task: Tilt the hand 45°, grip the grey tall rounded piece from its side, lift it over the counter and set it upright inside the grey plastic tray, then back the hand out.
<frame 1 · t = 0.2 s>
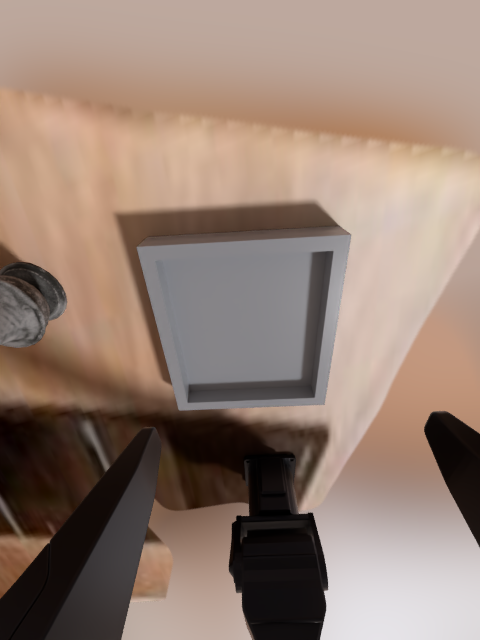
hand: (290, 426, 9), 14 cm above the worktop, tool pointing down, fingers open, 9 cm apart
grey tray: (247, 323, 24), on the worktop
grey tall rounded piece: (34, 291, 23), on the worktop
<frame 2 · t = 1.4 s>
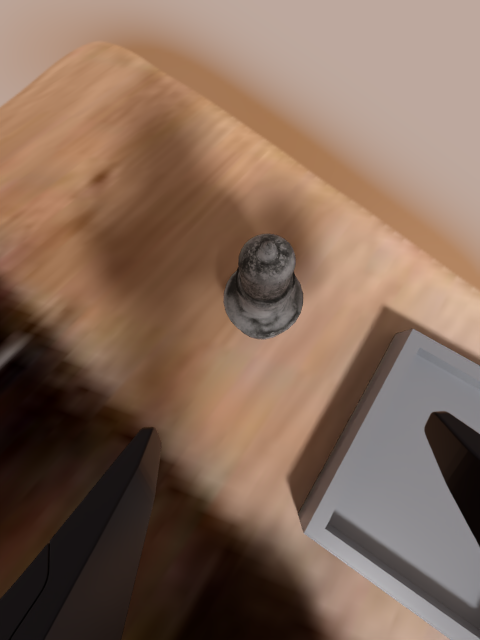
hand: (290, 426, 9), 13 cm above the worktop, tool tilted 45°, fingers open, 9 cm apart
grey tray: (434, 472, 20), on the worktop
grey tall rounded piece: (261, 309, 24), on the worktop
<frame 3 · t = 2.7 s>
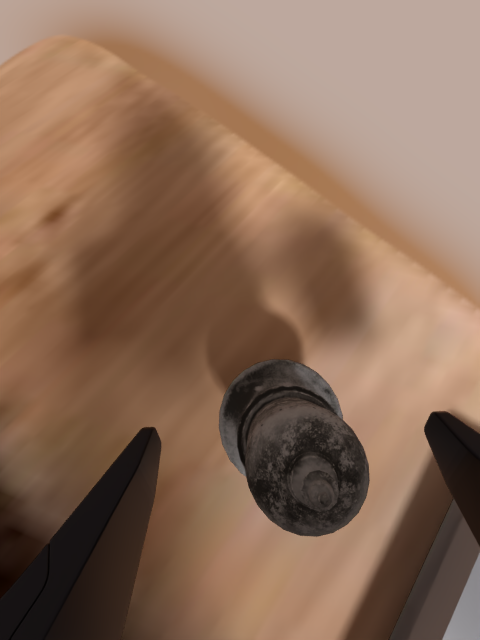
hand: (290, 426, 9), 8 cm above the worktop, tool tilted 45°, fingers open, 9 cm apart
grey tall rounded piece: (274, 411, 17), on the worktop
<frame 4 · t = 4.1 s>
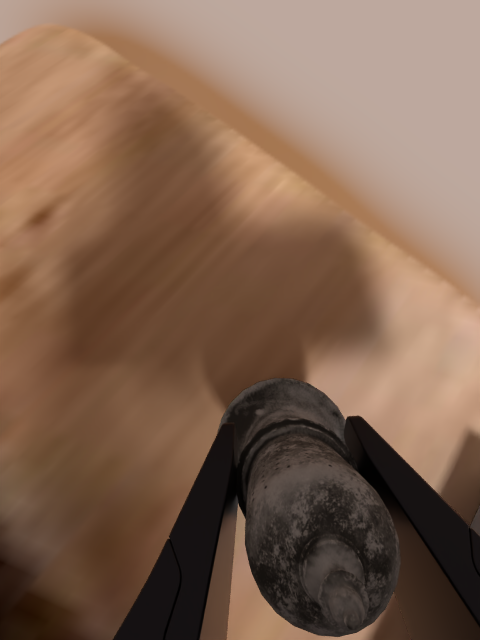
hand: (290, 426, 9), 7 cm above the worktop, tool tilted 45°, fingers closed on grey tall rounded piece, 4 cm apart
grey tall rounded piece: (276, 430, 15), on the worktop, touching gripper
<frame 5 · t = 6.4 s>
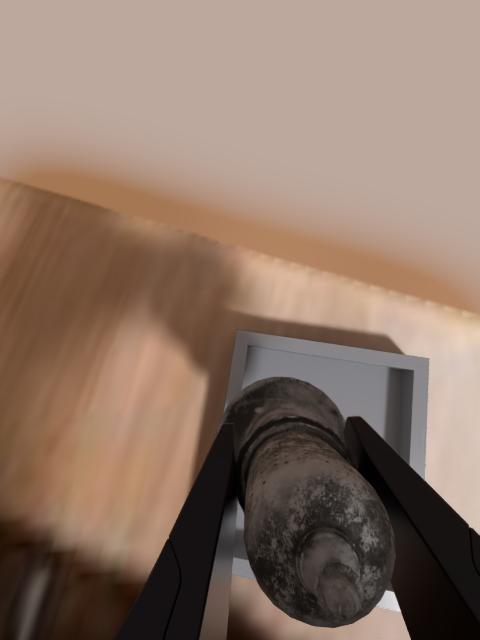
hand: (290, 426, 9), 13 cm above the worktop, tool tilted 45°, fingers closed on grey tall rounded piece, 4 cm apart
grey tray: (311, 448, 21), on the worktop
grey tall rounded piece: (276, 428, 15), point 6 cm above the worktop, touching gripper
when the fingers open (9 cm above the worktop, at t = 8.5 s): grey tall rounded piece drops 1 cm, resting on grey tray.
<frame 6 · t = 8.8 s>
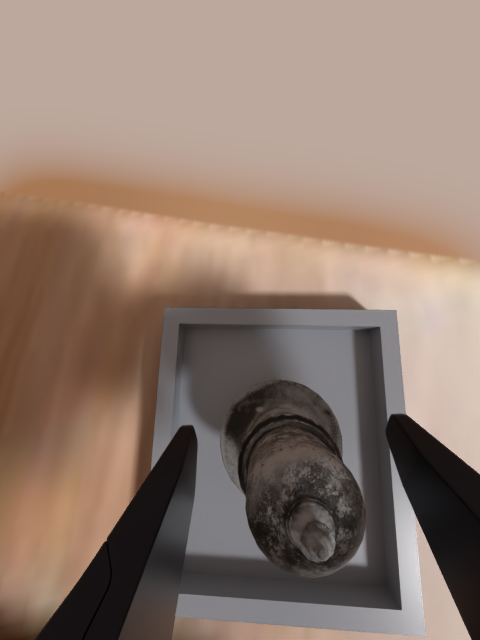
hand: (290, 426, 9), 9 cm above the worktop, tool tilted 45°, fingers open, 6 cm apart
grey tray: (274, 439, 17), on the worktop
grey tall rounded piece: (275, 427, 17), point 1 cm above the worktop, touching grey tray
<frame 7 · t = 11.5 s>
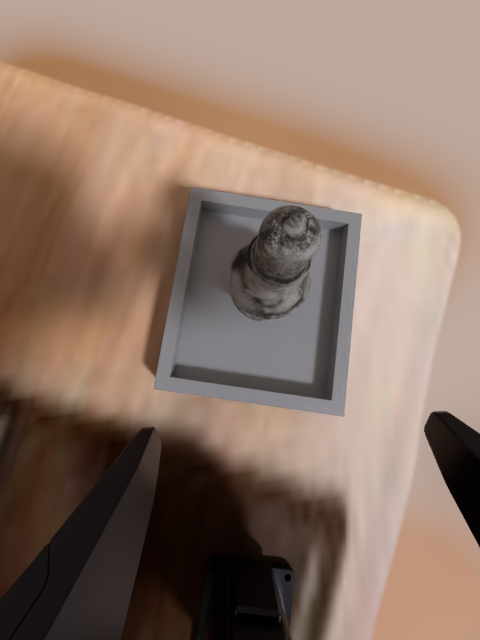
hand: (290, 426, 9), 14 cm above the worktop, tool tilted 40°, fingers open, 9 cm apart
grey tray: (260, 302, 23), on the worktop
grey tall rounded piece: (262, 290, 23), point 1 cm above the worktop, touching grey tray
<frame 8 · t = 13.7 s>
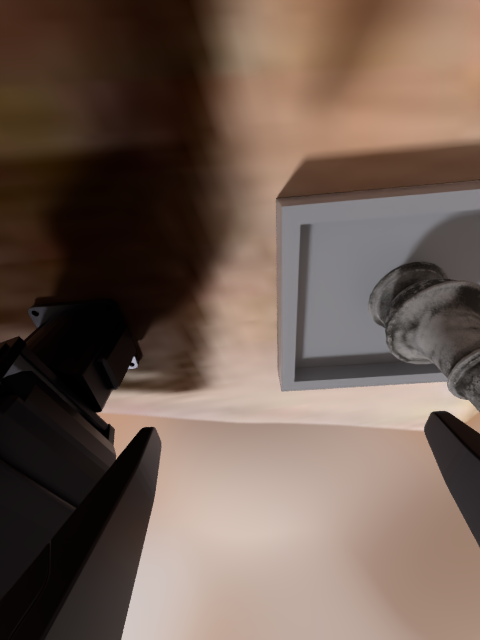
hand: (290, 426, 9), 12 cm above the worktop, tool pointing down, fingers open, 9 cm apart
grey tray: (387, 292, 20), on the worktop
grey tall rounded piece: (405, 296, 19), point 1 cm above the worktop, touching grey tray
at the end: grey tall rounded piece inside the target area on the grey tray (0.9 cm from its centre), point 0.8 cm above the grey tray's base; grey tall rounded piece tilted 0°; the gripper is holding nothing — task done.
